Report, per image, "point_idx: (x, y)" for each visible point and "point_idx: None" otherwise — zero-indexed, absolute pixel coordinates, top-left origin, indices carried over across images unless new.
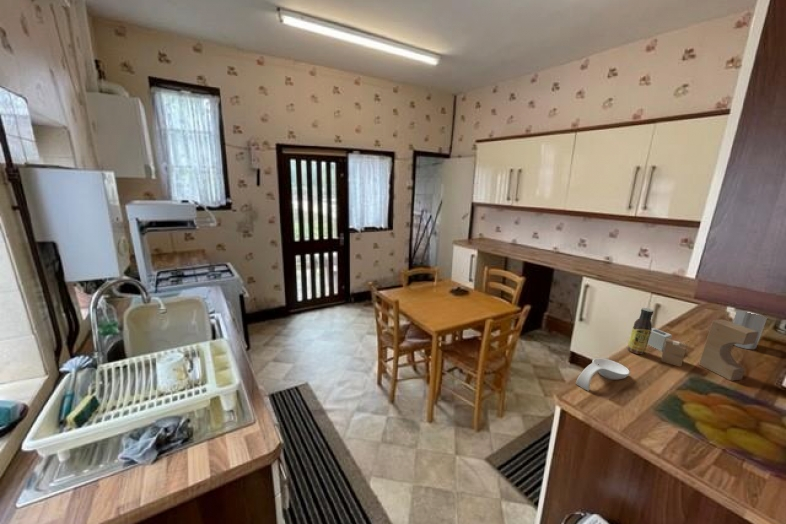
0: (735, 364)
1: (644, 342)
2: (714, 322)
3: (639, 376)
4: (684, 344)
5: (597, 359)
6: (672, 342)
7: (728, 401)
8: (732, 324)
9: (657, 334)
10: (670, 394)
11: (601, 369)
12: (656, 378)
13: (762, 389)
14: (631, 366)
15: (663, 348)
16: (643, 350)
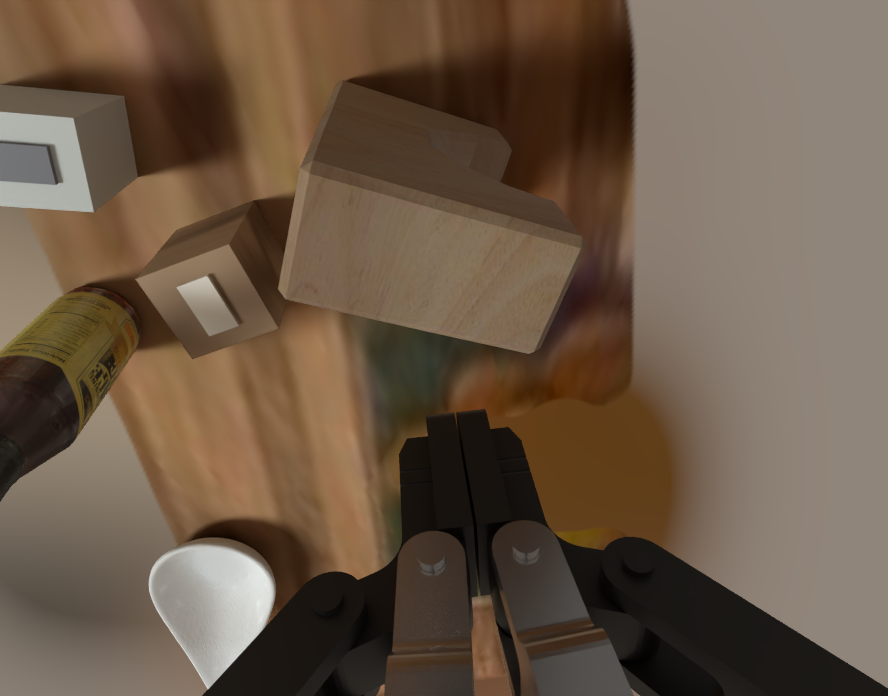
0: (471, 165)
1: (114, 380)
2: (302, 300)
3: (272, 493)
4: (236, 269)
5: (156, 588)
6: (190, 306)
7: (506, 387)
8: (413, 258)
9: (41, 207)
10: (384, 503)
11: None
12: (307, 457)
13: (578, 150)
14: (209, 459)
15: (128, 162)
16: (135, 344)
